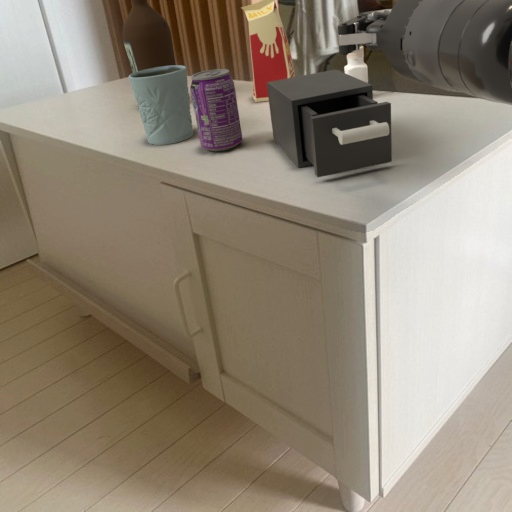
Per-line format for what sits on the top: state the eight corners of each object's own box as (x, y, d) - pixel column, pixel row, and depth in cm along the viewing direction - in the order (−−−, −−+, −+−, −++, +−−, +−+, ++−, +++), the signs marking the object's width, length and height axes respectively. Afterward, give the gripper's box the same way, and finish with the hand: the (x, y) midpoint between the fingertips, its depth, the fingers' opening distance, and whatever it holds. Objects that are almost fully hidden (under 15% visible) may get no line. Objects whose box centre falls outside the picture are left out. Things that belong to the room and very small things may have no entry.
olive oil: (182, 95, 131) (159, -19, 119) (186, 104, 122) (161, -18, 110) (139, 103, 130) (111, -11, 118) (139, 113, 121) (110, -10, 109)
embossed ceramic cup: (135, 147, 98) (118, 79, 92) (158, 130, 106) (143, 67, 100) (186, 144, 95) (172, 74, 89) (206, 127, 103) (194, 62, 97)
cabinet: (374, 152, 78) (372, 85, 74) (298, 168, 77) (291, 100, 72) (339, 127, 91) (336, 69, 87) (273, 141, 90) (266, 82, 85)
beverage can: (214, 139, 95) (202, 69, 89) (250, 139, 92) (239, 67, 86) (193, 153, 90) (179, 79, 84) (230, 154, 87) (218, 77, 81)
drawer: (406, 172, 68) (406, 110, 64) (328, 188, 67) (323, 127, 63) (354, 135, 83) (351, 84, 80) (290, 149, 82) (284, 97, 78)
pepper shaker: (348, 101, 105) (345, 50, 101) (345, 96, 109) (342, 47, 104) (369, 98, 105) (367, 47, 100) (365, 94, 108) (363, 44, 104)
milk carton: (296, 88, 121) (287, -10, 111) (291, 99, 113) (281, -6, 104) (257, 92, 123) (244, -4, 113) (249, 103, 115) (235, 0, 106)
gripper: (531, -28, 42) (423, -26, 57) (369, -2, 40) (302, -7, 55) (521, 72, 45) (422, 49, 60) (372, 100, 43) (308, 69, 59)
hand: (365, 22), depth 58 cm, fingers closed
